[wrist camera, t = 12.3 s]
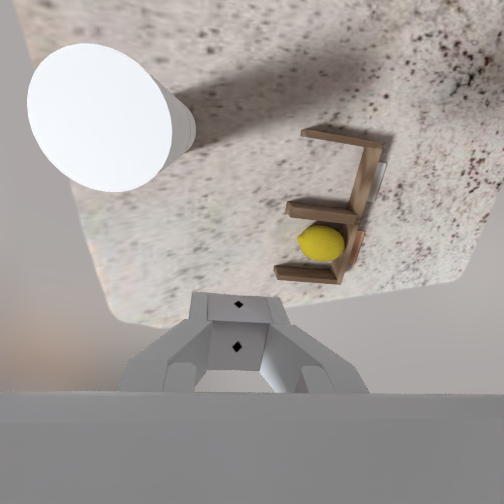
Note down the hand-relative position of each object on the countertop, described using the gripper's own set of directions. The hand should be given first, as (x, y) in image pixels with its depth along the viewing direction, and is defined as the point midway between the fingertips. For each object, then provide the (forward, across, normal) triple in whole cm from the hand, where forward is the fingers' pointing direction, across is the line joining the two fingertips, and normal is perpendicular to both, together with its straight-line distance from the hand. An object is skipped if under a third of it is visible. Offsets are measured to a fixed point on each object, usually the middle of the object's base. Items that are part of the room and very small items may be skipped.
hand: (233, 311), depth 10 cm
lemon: (+31, -13, +7) cm, 35 cm away
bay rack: (+34, -18, +3) cm, 39 cm away
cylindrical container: (+34, +7, -5) cm, 35 cm away
